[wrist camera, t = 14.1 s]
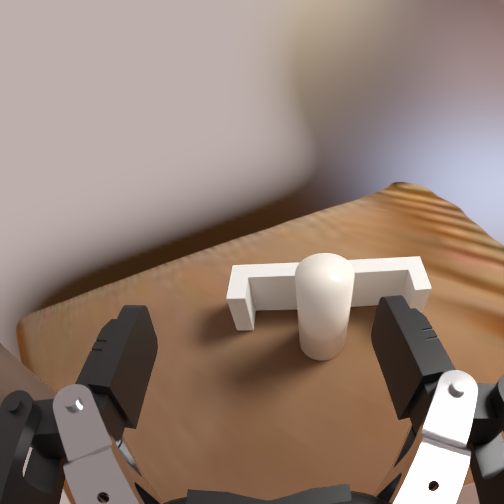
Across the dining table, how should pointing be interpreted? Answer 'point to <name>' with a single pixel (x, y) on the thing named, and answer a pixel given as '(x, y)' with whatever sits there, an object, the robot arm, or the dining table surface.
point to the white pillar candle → (323, 304)
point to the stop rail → (284, 287)
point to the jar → (468, 495)
